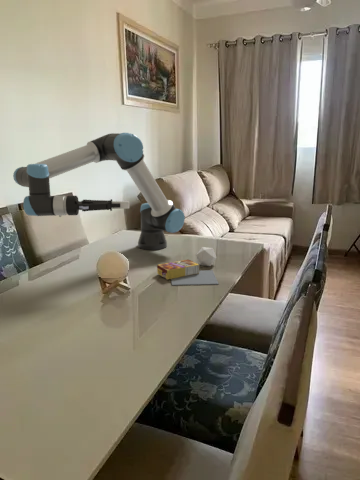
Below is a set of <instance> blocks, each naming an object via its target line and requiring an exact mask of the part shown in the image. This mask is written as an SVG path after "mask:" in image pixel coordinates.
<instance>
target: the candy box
mask: <svg viewBox="0 0 360 480" xmlns="http://www.w3.org/2000/svg"><path fill="white" fill-rule="evenodd" d="M156 268H157V270H156V273H157V274H158V276H160V277H162V278H164V279H166V280H171V279H173V278H178V277H183V276H189V275H194V274H199V271H200V265H199V263H197V262H195V261H193V260H191V259H189V258H188V259H183V260H177V261H171V262H166V263H160V264H157V267H156Z"/></svg>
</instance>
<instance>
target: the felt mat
mask: <svg viewBox="0 0 360 480" xmlns="http://www.w3.org/2000/svg"><path fill="white" fill-rule="evenodd" d="M170 282H171V286H215V285H216V286H218V285H219V282H218V279H217V277H216V274H215V272H214V270H213V269H210V270H209V269H207V270H202V269H199V274H194V275H189V276H183V277H178V278H173V279H170Z"/></svg>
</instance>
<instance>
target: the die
mask: <svg viewBox="0 0 360 480" xmlns="http://www.w3.org/2000/svg"><path fill="white" fill-rule="evenodd" d="M195 256H196V259H197V262H198V264H199V266H203V267H204V266H205V267H211V266H212V265H213V264H214V263H215V261H216V260H217V255H216V253H215V249H214V248H213V247H206V246H201V248H200V249H199V250H198V252H197V253H196V254H195Z"/></svg>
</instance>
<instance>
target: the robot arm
mask: <svg viewBox="0 0 360 480" xmlns="http://www.w3.org/2000/svg"><path fill="white" fill-rule="evenodd" d="M144 158H145V154H144V145H143V142H142V140H141V139H140V137H139V136H137V135H136V134H134V133H129V132H120V133H119V132H118V133H116V132H115V133H114V132H113V133H112V132H111V133H107V134H105V135H102V136H100V137H97V138H95V139H91V140H90V141H87V143H86V144H85V145H84V146H80V147H77V148H74V149H71V150H70V151H69V150H68V151H67V152H63V153H61V154H59V155H55V156H53V157H49V158H47V159H44V160H42V161H38V162H36V163H30V164H29V163H28V164H27V165H26V166H20V167H17V168H16V169H15V170H14V172H13V180H14V181H15V184H17V185H19V186H21V187H25V188H28V195H26V196H25V197H23V198H24V199H23V206H22V207H23V211H24V213H25V214H26V216H35V217H45V216H46V217H47V216H50V217H51V216H53V217H54V216H58V217H59V218H61V217H62V216H78V215H79V212H80V211H82V212H89V211H90V212H91V211H109V210H110V212H112V211H113V209H114V210H119V209H121V210H122V209H124V210H126V209H127V210H129V209H130V200H120V201H119V200H115V201H113V199H111V198H110V199H109V200H103V199H100V200H99V199H97V200H96V199H82V200H79V197H78V195H51V188H50V185H51V184H50V179H52V178H54V177H57V176H60V175H63V174H64V173H67V172H70V171H72V170H76V169H78V168H80V167H83V166H86V165H89V164H91V163H95V164H97V163H101V162H104V161H115V162H116V163H117V164H118V166H119V167H120V169H121V170H122V171H126V172H127V173H128V174H129V176H130V177H131V180H132V181H133V183H134V184H135V186H136V187H137V188H138V190H139V191H140V193H141V194H142V196H143V198H144V200H145V201H146V202H145V203H141V205H140V209H139V212H140V234H139V238H138V242H137V247H138V249H142V250H145V251H146V250H149V251H154V250H155V251H156V250H162V249H165V248H167V246H168V241H167V239H166V236H165V232H167V233H178V232H179V231H180V230H181V229H182V228H183V226H184V224H185V219H186V218H185V212H184V211H183V210H181V208H177V207H176V206H175V204H174V203H173V201H172V200H171V199H167V197H166V196H165V194H164V192H163V190H162V189H161V187H160V186H159V184H158V183H157V180H156V179H155V177H154V175H153V174H152V172H151V171H150V169H149V167H148V166H147V164H146V163H145V161H144ZM164 231H165V232H164Z"/></svg>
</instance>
